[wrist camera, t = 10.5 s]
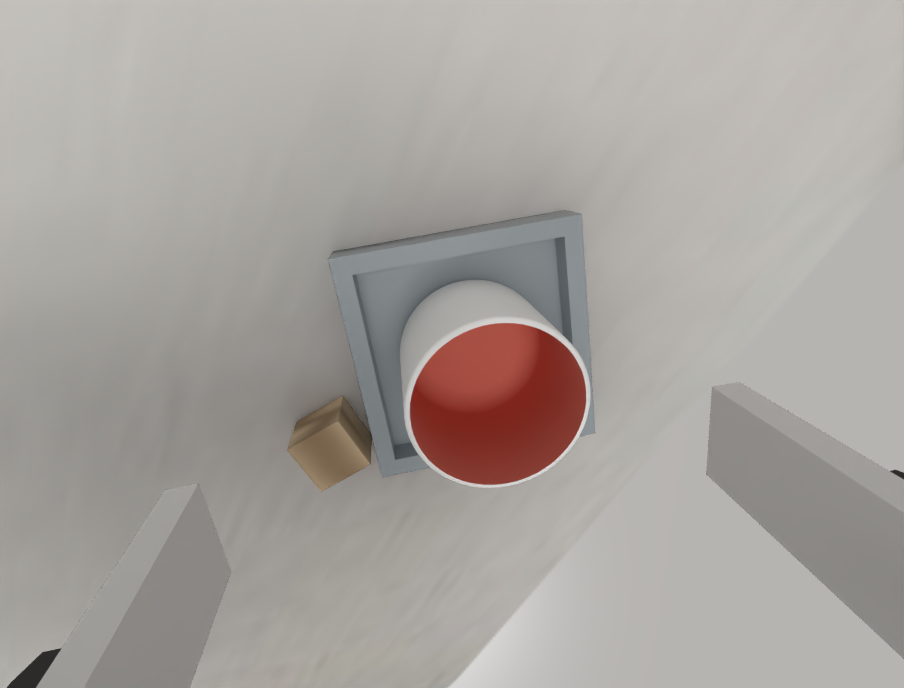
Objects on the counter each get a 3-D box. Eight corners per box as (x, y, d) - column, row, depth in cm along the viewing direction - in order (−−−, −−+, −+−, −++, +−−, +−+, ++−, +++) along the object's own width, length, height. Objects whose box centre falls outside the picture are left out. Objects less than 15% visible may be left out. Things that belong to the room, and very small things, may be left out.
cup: (531, 406, 37) (579, 485, 28) (399, 409, 36) (403, 493, 27) (544, 275, 34) (603, 316, 25) (399, 274, 33) (403, 317, 24)
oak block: (327, 459, 38) (321, 491, 34) (297, 421, 37) (286, 450, 33) (372, 435, 38) (370, 464, 34) (342, 395, 36) (337, 421, 33)
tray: (382, 454, 38) (382, 477, 36) (333, 251, 33) (328, 259, 30) (580, 414, 39) (595, 433, 37) (565, 210, 34) (581, 214, 31)
